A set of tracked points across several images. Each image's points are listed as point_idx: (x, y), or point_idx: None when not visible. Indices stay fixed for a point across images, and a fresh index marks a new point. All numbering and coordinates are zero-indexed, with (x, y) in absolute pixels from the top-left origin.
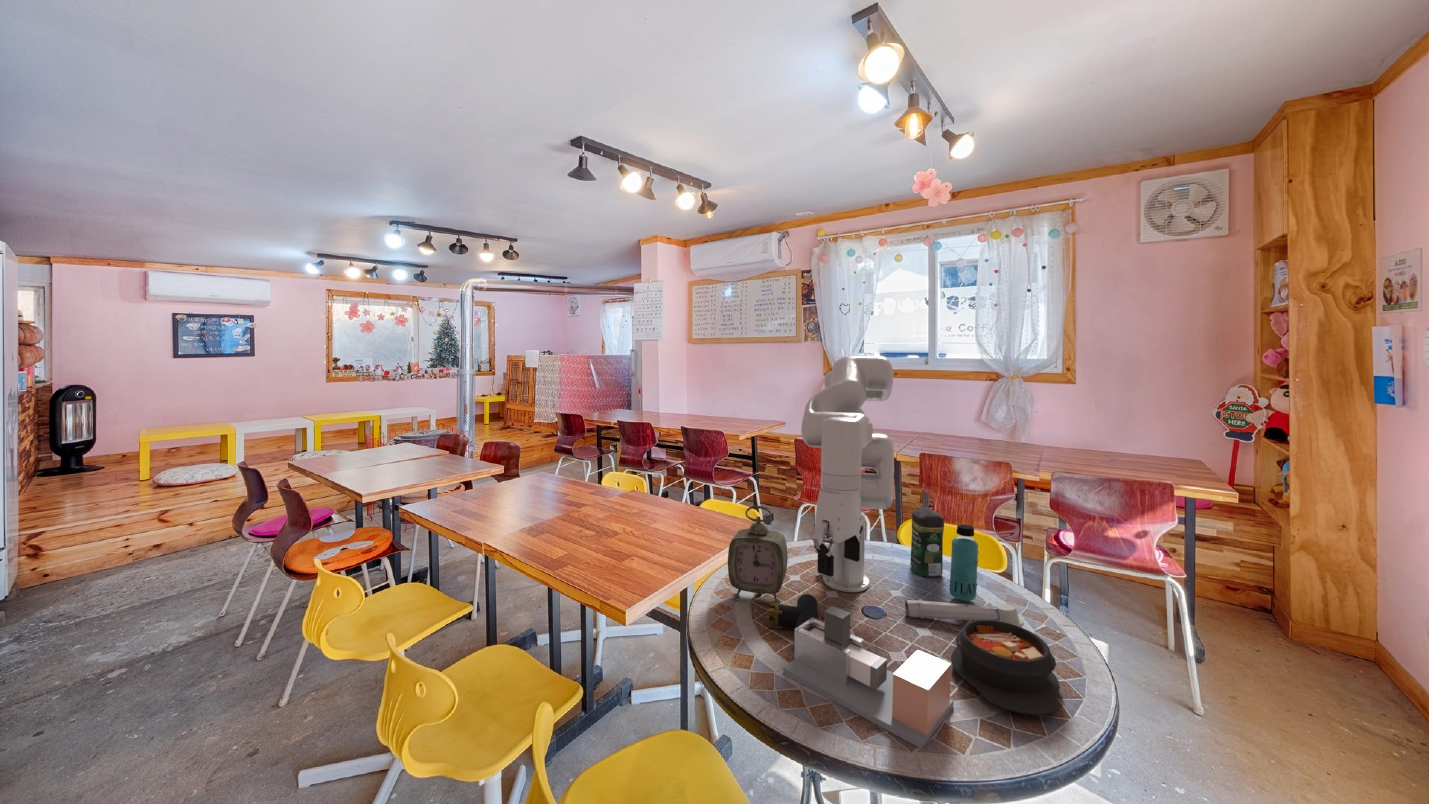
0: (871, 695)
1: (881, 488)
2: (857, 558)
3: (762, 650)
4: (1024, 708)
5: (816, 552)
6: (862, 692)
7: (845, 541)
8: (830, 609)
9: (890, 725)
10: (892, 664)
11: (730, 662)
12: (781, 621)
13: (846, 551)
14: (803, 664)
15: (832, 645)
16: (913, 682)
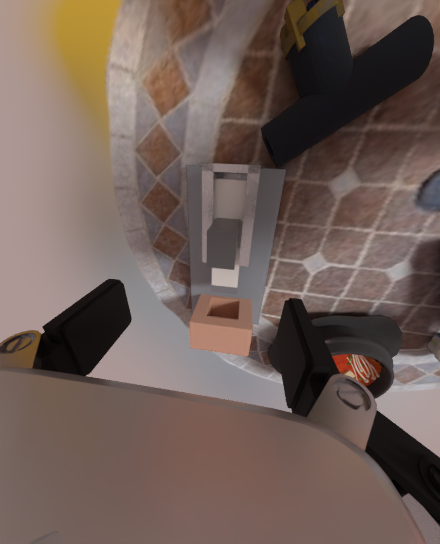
0: None
1: None
2: (277, 348)
3: (211, 94)
4: (275, 364)
5: (19, 333)
6: None
7: (303, 359)
8: (220, 236)
9: (191, 295)
10: (292, 264)
11: (149, 72)
12: (290, 63)
13: (288, 325)
14: None
15: (204, 240)
16: (191, 337)
